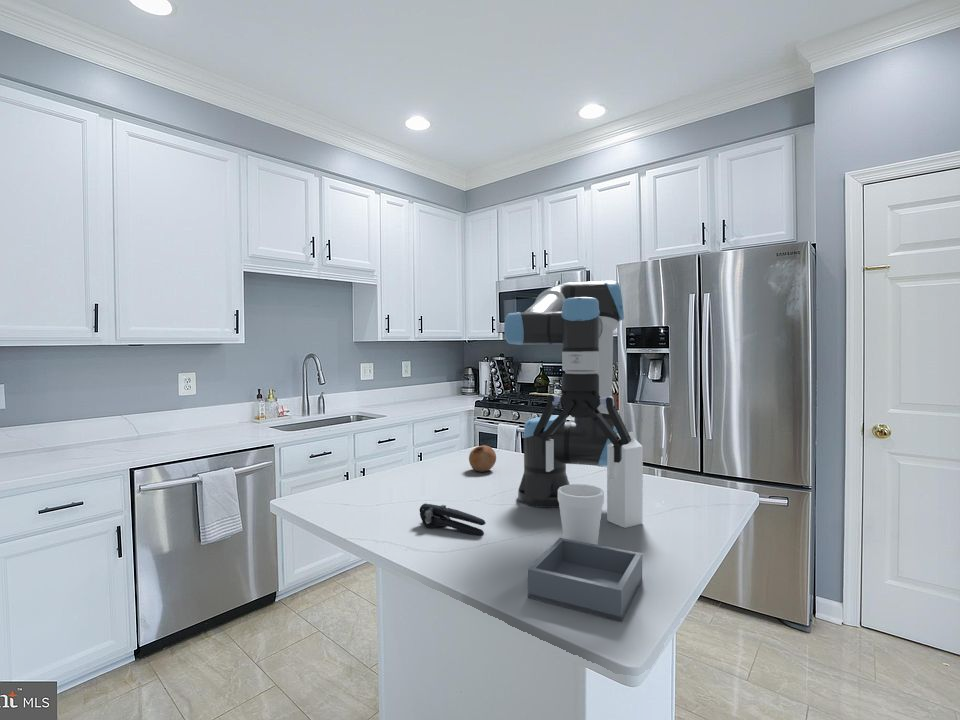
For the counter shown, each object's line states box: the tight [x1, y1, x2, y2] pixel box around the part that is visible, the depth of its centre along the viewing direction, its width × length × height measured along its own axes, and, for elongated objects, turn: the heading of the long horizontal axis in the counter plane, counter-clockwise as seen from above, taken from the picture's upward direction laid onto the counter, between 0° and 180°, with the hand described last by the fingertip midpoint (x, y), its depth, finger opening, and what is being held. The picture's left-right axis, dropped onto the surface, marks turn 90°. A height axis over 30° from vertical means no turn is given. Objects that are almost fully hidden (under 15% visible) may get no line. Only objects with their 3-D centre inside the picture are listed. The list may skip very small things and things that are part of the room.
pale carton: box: [606, 431, 644, 529], centre depth 123 cm, size 6×6×22 cm
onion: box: [468, 444, 497, 473], centre depth 175 cm, size 10×9×10 cm
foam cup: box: [558, 483, 605, 545], centre depth 106 cm, size 10×9×13 cm
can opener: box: [419, 503, 487, 536], centre depth 120 cm, size 18×7×6 cm, turn 60°
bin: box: [527, 537, 643, 623], centre depth 90 cm, size 16×16×5 cm
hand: (580, 474), depth 106 cm, fingers open, 13 cm apart
